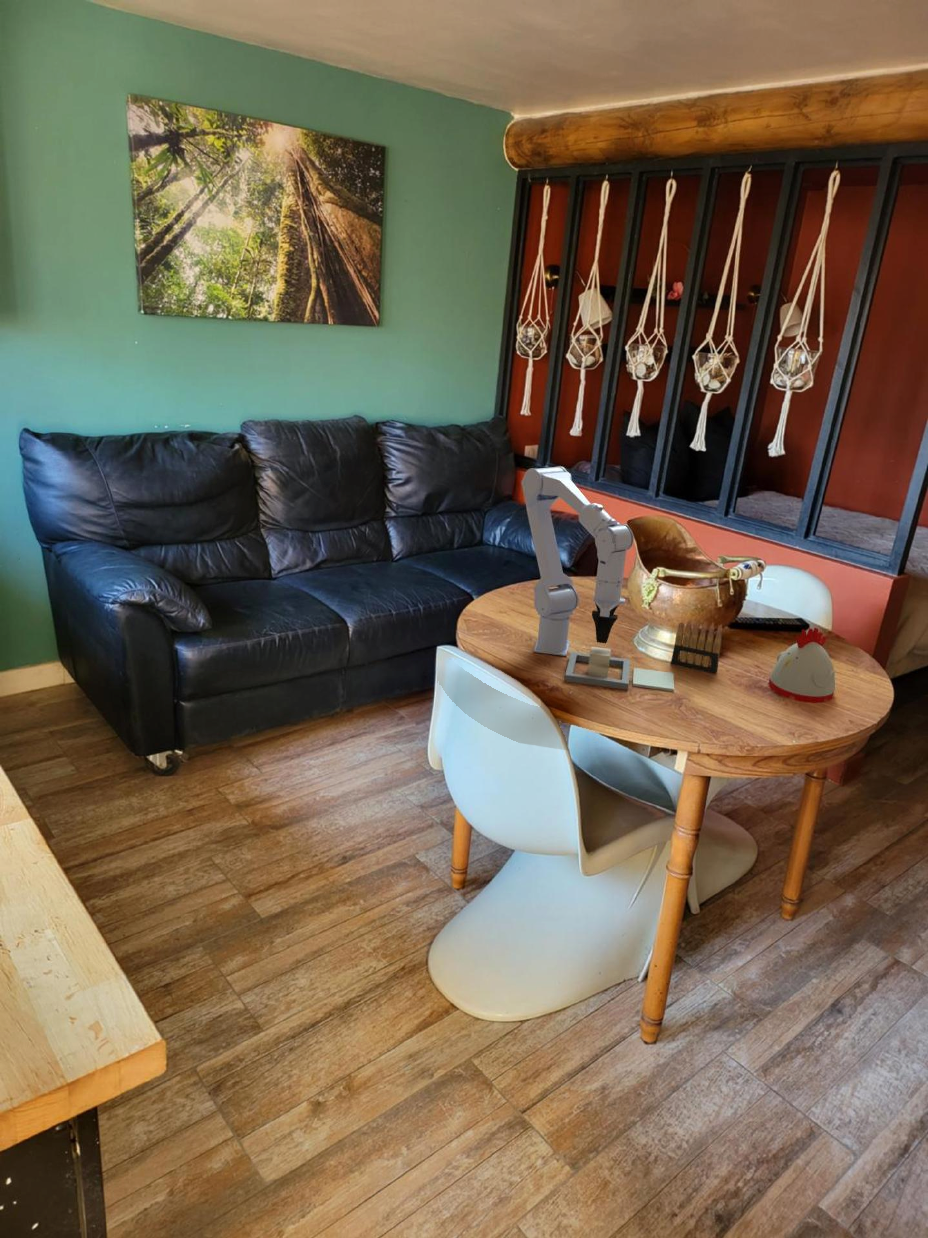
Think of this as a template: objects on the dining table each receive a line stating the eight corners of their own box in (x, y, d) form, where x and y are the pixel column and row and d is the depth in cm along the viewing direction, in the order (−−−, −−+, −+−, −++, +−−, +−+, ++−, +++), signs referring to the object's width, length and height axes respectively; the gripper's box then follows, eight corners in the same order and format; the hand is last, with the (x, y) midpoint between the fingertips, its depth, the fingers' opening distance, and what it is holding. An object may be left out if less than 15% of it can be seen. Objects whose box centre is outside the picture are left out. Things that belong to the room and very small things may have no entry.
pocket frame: (570, 657, 199) (571, 651, 198) (629, 665, 196) (630, 659, 196) (564, 681, 186) (565, 675, 185) (627, 689, 183) (628, 683, 183)
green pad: (633, 670, 194) (633, 667, 194) (672, 675, 192) (673, 673, 192) (632, 685, 185) (632, 683, 185) (673, 691, 184) (674, 689, 184)
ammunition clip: (670, 664, 198) (677, 617, 194) (672, 661, 200) (679, 615, 196) (716, 674, 194) (724, 626, 190) (717, 671, 196) (725, 623, 192)
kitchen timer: (755, 680, 193) (767, 619, 187) (802, 674, 197) (815, 615, 192) (797, 706, 180) (811, 642, 175) (846, 699, 185) (861, 637, 180)
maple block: (588, 668, 194) (591, 646, 192) (608, 670, 193) (611, 649, 191) (587, 676, 189) (590, 653, 187) (607, 678, 189) (610, 656, 187)
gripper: (626, 591, 176) (619, 650, 180) (628, 571, 189) (621, 627, 194) (593, 587, 177) (586, 646, 182) (597, 568, 190) (591, 623, 195)
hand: (602, 636), depth 188 cm, fingers open, 7 cm apart
